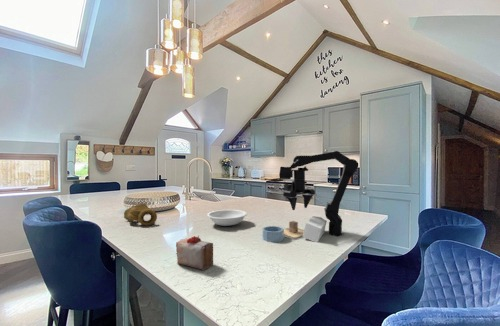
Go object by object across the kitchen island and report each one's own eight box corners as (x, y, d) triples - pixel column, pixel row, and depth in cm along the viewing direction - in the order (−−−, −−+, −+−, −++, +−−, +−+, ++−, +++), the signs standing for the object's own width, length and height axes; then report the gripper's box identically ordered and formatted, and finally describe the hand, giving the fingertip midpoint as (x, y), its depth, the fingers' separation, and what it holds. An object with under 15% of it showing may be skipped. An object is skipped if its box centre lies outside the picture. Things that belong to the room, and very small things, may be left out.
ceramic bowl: (273, 234, 114) (273, 225, 114) (287, 240, 106) (287, 229, 106) (258, 238, 108) (258, 228, 108) (272, 244, 100) (271, 233, 100)
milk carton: (317, 243, 101) (324, 232, 118) (321, 228, 100) (328, 219, 117) (302, 237, 104) (311, 226, 121) (305, 222, 104) (314, 214, 120)
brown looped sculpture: (157, 206, 156) (160, 206, 137) (151, 225, 152) (154, 227, 133) (128, 200, 148) (127, 198, 129) (121, 219, 145) (119, 221, 126)
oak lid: (293, 227, 124) (293, 217, 124) (312, 233, 113) (311, 222, 113) (275, 232, 116) (275, 221, 116) (294, 238, 106) (294, 227, 106)
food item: (172, 264, 81) (172, 237, 81) (187, 256, 88) (187, 231, 88) (202, 272, 75) (202, 243, 75) (216, 263, 82) (216, 236, 82)
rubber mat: (293, 227, 126) (293, 226, 126) (316, 234, 113) (316, 233, 113) (271, 233, 117) (271, 232, 117) (294, 241, 104) (294, 240, 104)
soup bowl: (202, 222, 140) (202, 211, 140) (238, 218, 150) (238, 208, 150) (213, 232, 118) (213, 220, 118) (254, 227, 128) (254, 215, 128)
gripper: (299, 178, 130) (300, 204, 130) (275, 179, 119) (276, 208, 119) (315, 178, 121) (315, 207, 121) (291, 180, 110) (291, 212, 110)
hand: (299, 209), depth 118 cm, fingers open, 9 cm apart
